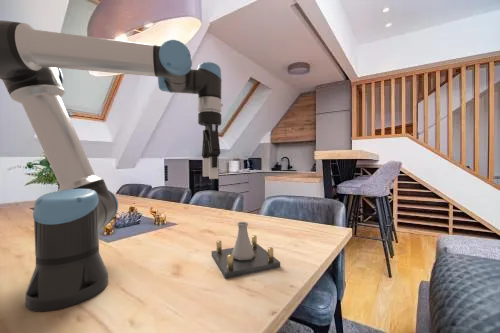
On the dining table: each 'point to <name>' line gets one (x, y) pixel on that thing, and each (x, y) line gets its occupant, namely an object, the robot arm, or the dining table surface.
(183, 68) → the robot arm
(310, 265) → the dining table surface
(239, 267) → the pin plate
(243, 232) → the flask
